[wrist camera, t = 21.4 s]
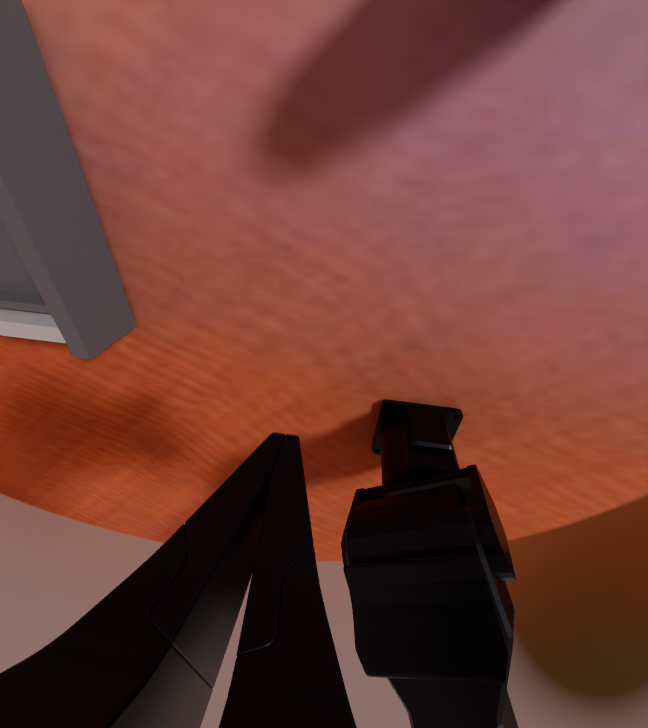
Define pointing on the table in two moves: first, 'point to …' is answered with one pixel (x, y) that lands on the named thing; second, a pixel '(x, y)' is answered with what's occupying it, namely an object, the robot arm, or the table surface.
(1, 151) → the tray
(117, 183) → the table surface
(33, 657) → the robot arm
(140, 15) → the table surface
